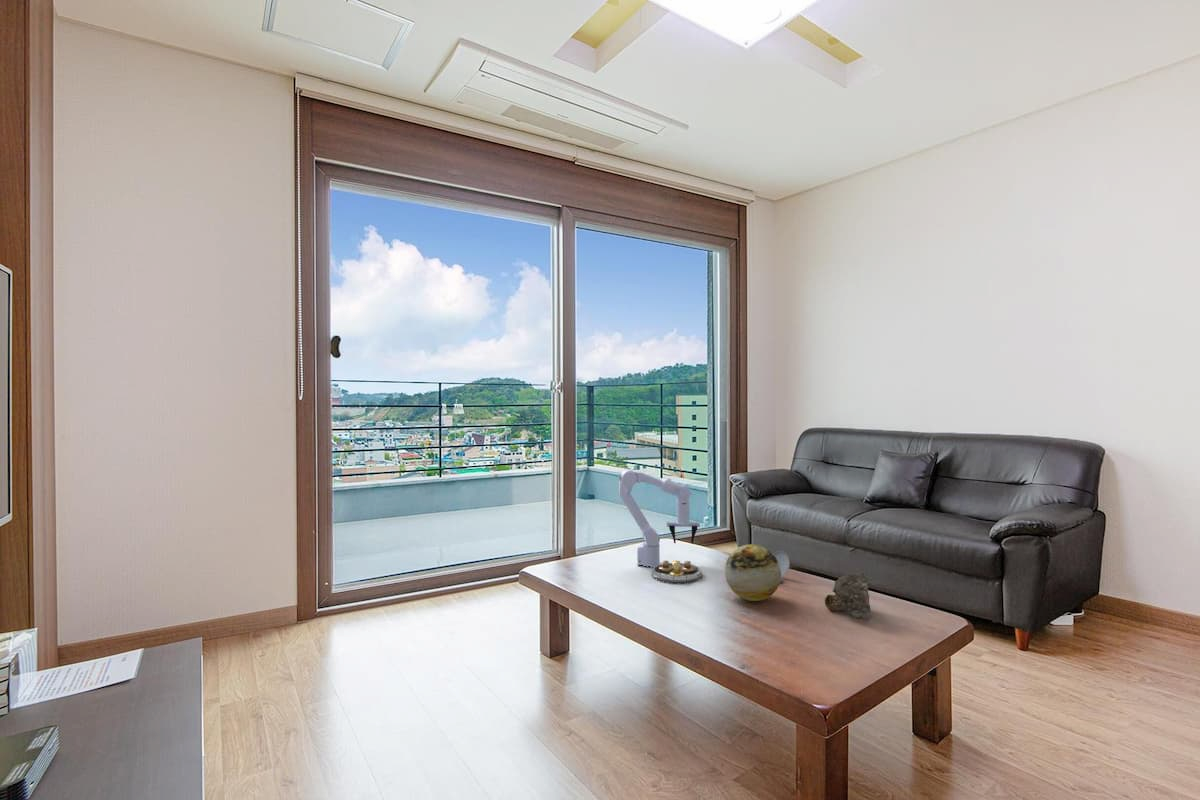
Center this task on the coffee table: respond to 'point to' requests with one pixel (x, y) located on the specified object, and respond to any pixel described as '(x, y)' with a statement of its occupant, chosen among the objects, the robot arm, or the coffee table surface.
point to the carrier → (690, 575)
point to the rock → (850, 596)
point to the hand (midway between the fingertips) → (683, 542)
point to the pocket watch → (782, 561)
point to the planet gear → (676, 569)
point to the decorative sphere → (753, 572)
